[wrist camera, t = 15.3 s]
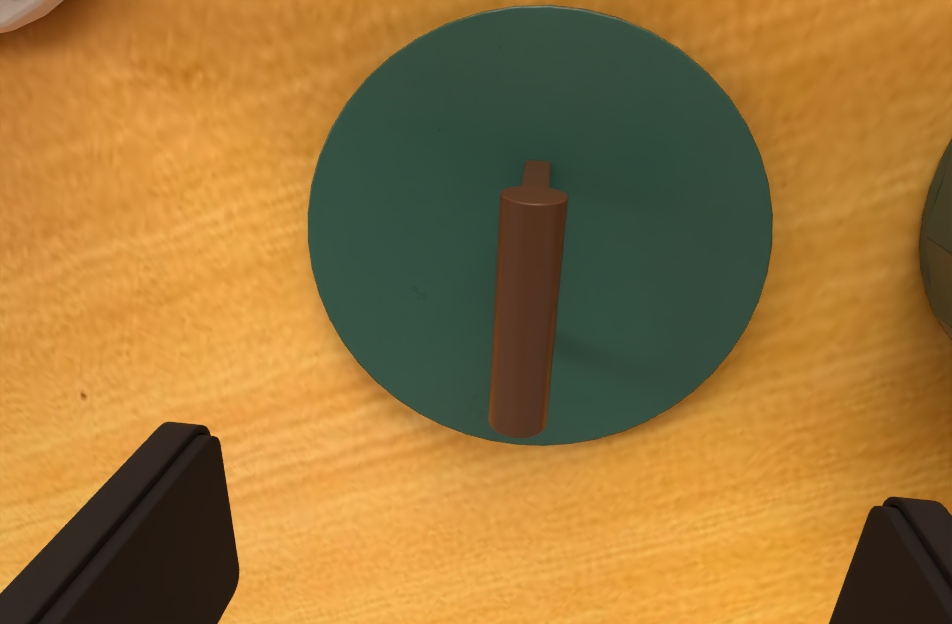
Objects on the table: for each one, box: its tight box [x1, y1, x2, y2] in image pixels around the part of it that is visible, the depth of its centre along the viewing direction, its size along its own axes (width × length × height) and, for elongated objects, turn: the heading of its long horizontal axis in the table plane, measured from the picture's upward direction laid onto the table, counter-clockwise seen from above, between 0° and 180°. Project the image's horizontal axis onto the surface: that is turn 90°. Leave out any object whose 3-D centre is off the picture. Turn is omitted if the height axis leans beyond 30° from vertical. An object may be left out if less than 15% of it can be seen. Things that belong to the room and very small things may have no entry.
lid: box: [308, 5, 773, 446], centre depth 18 cm, size 13×13×6 cm
